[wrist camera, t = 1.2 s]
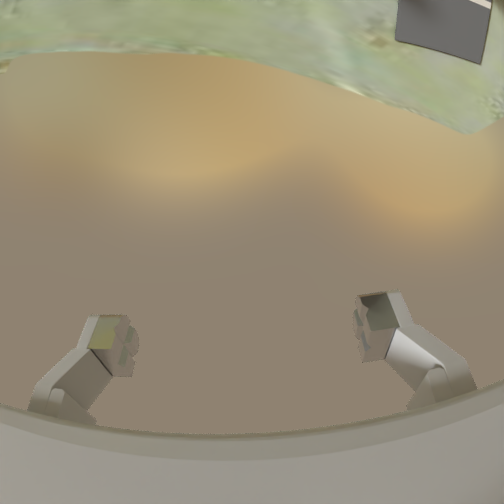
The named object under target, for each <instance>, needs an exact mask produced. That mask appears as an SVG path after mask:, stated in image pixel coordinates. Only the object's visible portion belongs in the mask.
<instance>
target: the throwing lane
mask: <svg viewBox="0 0 504 504" xmlns="http://www.w3.org/2000/svg"><path fill="white" fill-rule="evenodd" d="M491 1H492V0H399V3H398V14H397V23H396V32H395V40H398V41H403V42H407V43H411V44H416V45H420V46H424V47H427V48H431V49H435V50H438V51H442V52H445V53H449V54H452V55H455V56H458V57H461V58H464V59H467V60H470V61H473V62H476V63H478V64H480V61H481V57H482V52H483V47H484V43H485V37H486V32H487V27H488V21H489V15H490V9H491Z"/></svg>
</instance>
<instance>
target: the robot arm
mask: <svg viewBox="0 0 504 504" xmlns="http://www.w3.org/2000/svg"><path fill="white" fill-rule="evenodd" d="M355 304H356V307H357V309H356V310H355V311H354V313H353V328H354V333H355V336H356V338H358V339H359V340H360V342H359V346H358V348H359V352H360V356H361V359H362V363H363V362H370V361H377V360H383V359H385V361H386V362H387V363H388V364H389V365H390V366H391V367H392V368H393V369H394V370H395V371H396V372H397V373H398V374H399V375H400V376H401V377H402V378H403V379H404V380H405V382H407V384H408V385H409V386H410V387H411V388H412V389H413V390H414V391H415V394H414V395H413V396H412V398H411V399H410V401H409V402H408V404H407V405H406V407H407V410H408V411H404V412H400V413H396V414H392V415H388V416H383V417H378V418H373V419H368V420H363V421H357V422H351V423H346V424H340V425H333V426H326V427H318V428H310V429H302V430H291V431H280V432H266V433H246V434H184V433H183V434H182V433H164V432H149V431H139V430H129V429H121V428H112V427H105V426H98V425H96V419H95V417H93V416H92V415H90V413H89V412H87V410H88V409H89V408H90V406H91V405H92V404H93V402H94V401H95V400H96V399H97V397H98V396H99V394H100V393H101V392H102V391H103V390H104V388H105V387H106V386H107V385H108V383H109V382H110V380H111V379H112V378H113V377H112V376H118V377H132V374H133V369H134V365H135V361H134V359H133V356H134V355H135V354H136V353H137V352H138V348H139V337H138V334H137V332H136V330H135V328H133V327H132V326H130V325H129V324H130V320H129V318H128V316H127V315H90V316H89V317H88V319H87V321H86V324H85V327H84V329H83V332H82V334H81V337H80V339H79V342H78V345H77V347H76V349H72V350H71V351H70V352H69V353H68V354H67V355H66V356H65V357H64V358H63V359H62V360H60V362H58V364H56V365H55V366H54V367H53V368H52V369H51V370H50V371H49V372H48V373H47V374H46V375H45V376H44V377H43V378H42V379H41V380H40V381H39V382H38V383H37V384H36V386H35V388H34V391H33V394H32V397H31V400H30V403H29V406H28V409H27V411H26V410H22V409H18V408H15V407H11V406H8V405H4V404H1V403H0V504H504V379H503V380H501V381H498V382H496V383H493V384H491V385H488V386H486V387H483V388H480V389H477V387H476V384H475V382H474V379H473V377H472V374H471V372H470V370H469V367H468V365H467V362H466V360H465V359H464V358H463V357H462V356H460V355H459V354H458V353H456V352H455V351H454V350H452V349H451V348H450V347H448V346H447V345H446V344H444V343H443V342H442V341H440V340H439V339H438V338H436V337H435V336H434V335H432V334H431V333H430V332H428V331H427V330H426V329H424V328H423V327H422V326H420V325H419V324H414V322H413V320H412V317H411V315H410V313H409V311H408V308H407V306H406V304H405V301H404V299H403V297H402V295H401V293H400V291H399V290H398V289H397V290H391V291H385V292H377V293H370V294H362V295H357V297H356V301H355Z"/></svg>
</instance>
